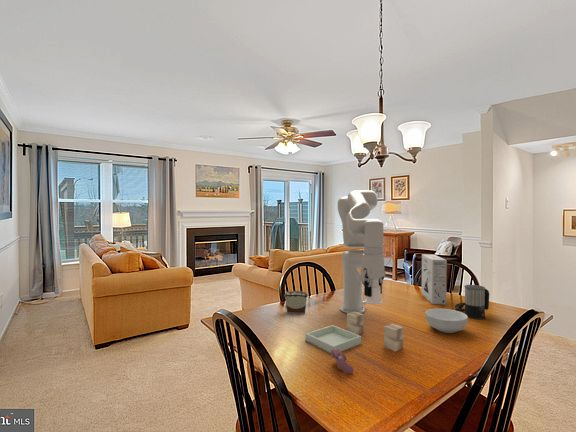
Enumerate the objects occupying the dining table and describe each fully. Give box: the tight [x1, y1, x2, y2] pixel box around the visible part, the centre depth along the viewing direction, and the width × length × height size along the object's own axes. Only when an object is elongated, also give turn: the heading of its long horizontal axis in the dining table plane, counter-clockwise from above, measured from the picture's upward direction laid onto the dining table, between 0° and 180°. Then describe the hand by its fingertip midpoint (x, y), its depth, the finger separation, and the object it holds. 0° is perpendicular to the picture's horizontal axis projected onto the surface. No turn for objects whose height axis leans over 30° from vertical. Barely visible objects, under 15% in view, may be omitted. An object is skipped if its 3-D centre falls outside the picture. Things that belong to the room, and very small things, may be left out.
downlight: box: [362, 278, 383, 305], centre depth 130 cm, size 8×7×10 cm
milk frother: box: [454, 284, 490, 320], centre depth 162 cm, size 14×16×15 cm
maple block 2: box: [383, 323, 404, 352], centre depth 123 cm, size 5×5×8 cm
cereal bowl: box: [425, 308, 469, 334], centre depth 141 cm, size 17×17×7 cm
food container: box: [283, 290, 309, 314], centre depth 166 cm, size 12×6×10 cm, turn 84°
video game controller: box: [330, 348, 355, 375], centre depth 107 cm, size 10×5×7 cm, turn 6°
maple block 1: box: [346, 311, 364, 336], centre depth 138 cm, size 5×5×8 cm
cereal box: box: [421, 253, 448, 306], centre depth 188 cm, size 22×8×25 cm, turn 172°
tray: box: [304, 324, 362, 355], centre depth 127 cm, size 16×16×3 cm
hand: (373, 294), depth 130 cm, fingers closed on downlight, 5 cm apart
